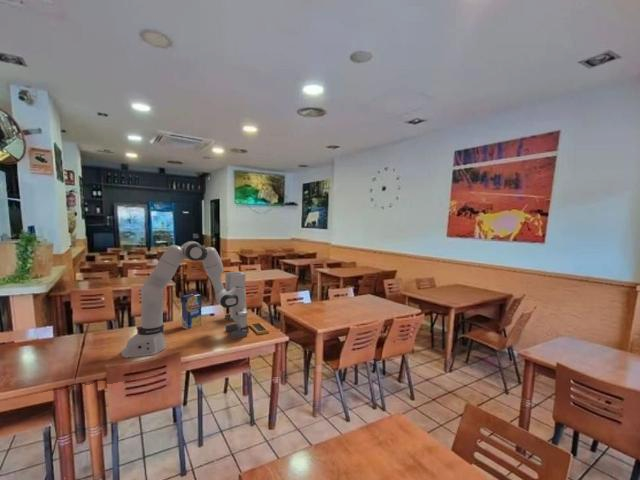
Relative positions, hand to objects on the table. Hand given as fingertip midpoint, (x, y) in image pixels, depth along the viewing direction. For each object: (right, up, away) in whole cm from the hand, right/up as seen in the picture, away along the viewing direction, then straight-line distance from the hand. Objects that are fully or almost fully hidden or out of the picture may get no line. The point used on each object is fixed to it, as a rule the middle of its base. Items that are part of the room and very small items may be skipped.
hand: (239, 329), depth 211 cm
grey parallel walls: (-2, -2, -1) cm, 3 cm away
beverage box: (-37, 0, +11) cm, 38 cm away
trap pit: (+12, -2, +7) cm, 14 cm away
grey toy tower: (-11, 0, +31) cm, 33 cm away
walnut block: (+3, -2, +2) cm, 4 cm away
